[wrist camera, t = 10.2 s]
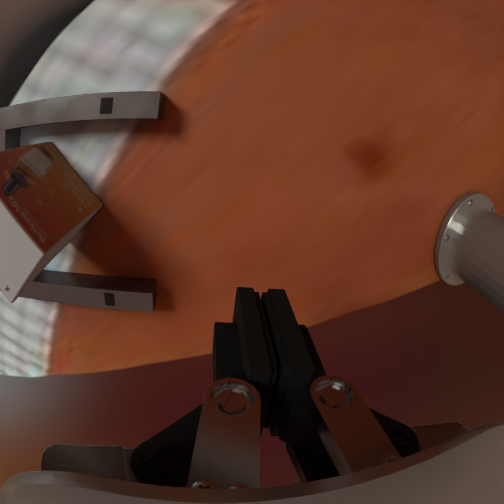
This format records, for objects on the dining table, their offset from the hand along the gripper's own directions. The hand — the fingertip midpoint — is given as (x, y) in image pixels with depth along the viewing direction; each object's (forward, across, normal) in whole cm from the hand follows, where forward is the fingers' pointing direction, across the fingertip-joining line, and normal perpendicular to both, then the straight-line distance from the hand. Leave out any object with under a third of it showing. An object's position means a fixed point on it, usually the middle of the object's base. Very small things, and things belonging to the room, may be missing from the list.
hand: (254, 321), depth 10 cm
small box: (+14, +16, -1) cm, 21 cm away
